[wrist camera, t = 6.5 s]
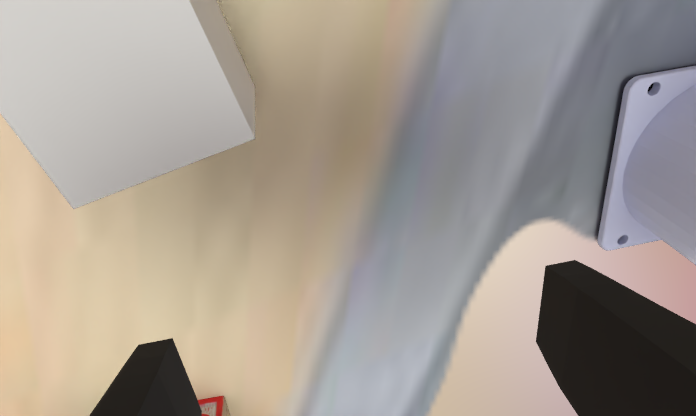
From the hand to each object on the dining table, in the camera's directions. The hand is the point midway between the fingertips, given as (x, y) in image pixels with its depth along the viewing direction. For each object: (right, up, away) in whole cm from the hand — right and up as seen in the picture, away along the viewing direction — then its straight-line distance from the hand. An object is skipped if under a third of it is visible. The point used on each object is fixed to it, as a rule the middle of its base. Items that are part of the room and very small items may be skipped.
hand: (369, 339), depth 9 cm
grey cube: (-7, +8, +6) cm, 12 cm away
